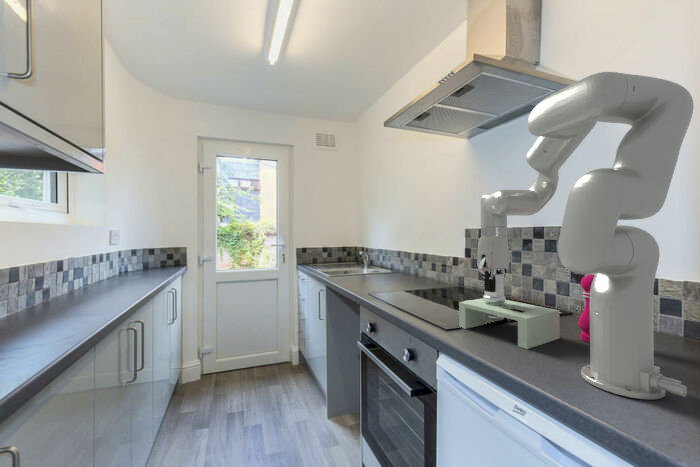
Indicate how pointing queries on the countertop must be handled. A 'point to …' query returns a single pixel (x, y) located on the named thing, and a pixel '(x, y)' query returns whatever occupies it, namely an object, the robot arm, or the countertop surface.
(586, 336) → the pepper mill
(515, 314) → the keyhole bracket
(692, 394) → the countertop surface
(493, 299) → the steel peg
